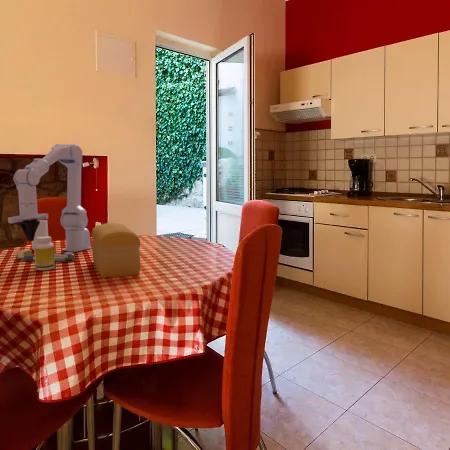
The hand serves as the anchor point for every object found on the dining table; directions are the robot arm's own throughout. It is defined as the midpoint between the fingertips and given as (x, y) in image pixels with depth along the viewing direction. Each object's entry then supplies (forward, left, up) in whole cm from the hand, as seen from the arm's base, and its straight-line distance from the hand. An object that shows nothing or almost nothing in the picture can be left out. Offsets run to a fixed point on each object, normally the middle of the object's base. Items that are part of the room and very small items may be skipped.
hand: (30, 240), depth 143 cm
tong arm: (-6, +2, -8) cm, 10 cm away
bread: (-11, +30, -9) cm, 33 cm away
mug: (-20, -21, -9) cm, 30 cm away
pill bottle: (+2, +10, -9) cm, 14 cm away
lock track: (-4, -7, -8) cm, 12 cm away
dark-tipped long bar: (-11, +1, -8) cm, 13 cm away
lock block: (-4, -10, -8) cm, 13 cm away
